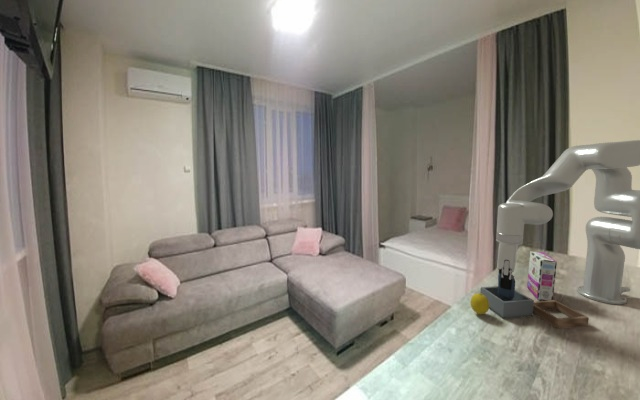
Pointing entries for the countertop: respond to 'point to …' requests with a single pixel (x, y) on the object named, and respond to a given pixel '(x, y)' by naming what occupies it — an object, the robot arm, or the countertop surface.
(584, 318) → the brown wooden square frame
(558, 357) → the countertop surface
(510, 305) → the bin
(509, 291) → the vaping device
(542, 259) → the candy bar box
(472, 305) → the lemon
